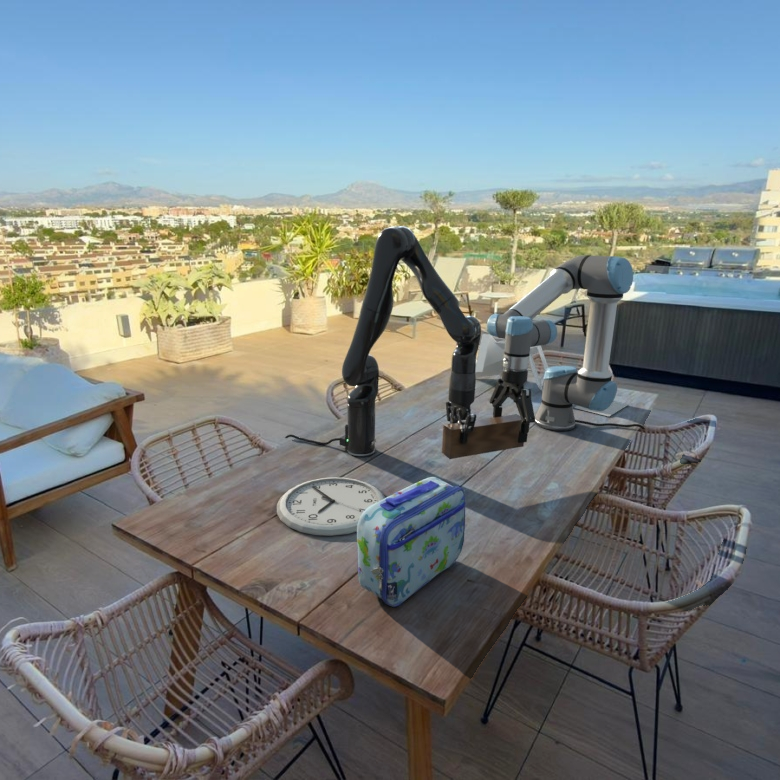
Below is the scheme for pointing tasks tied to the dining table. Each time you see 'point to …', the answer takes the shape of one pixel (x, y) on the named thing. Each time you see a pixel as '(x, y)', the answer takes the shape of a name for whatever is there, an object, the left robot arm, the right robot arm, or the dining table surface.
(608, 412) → the invitation card
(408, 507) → the lunch box
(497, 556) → the dining table surface
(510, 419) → the bar
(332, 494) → the wall clock
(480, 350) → the white plastic object
